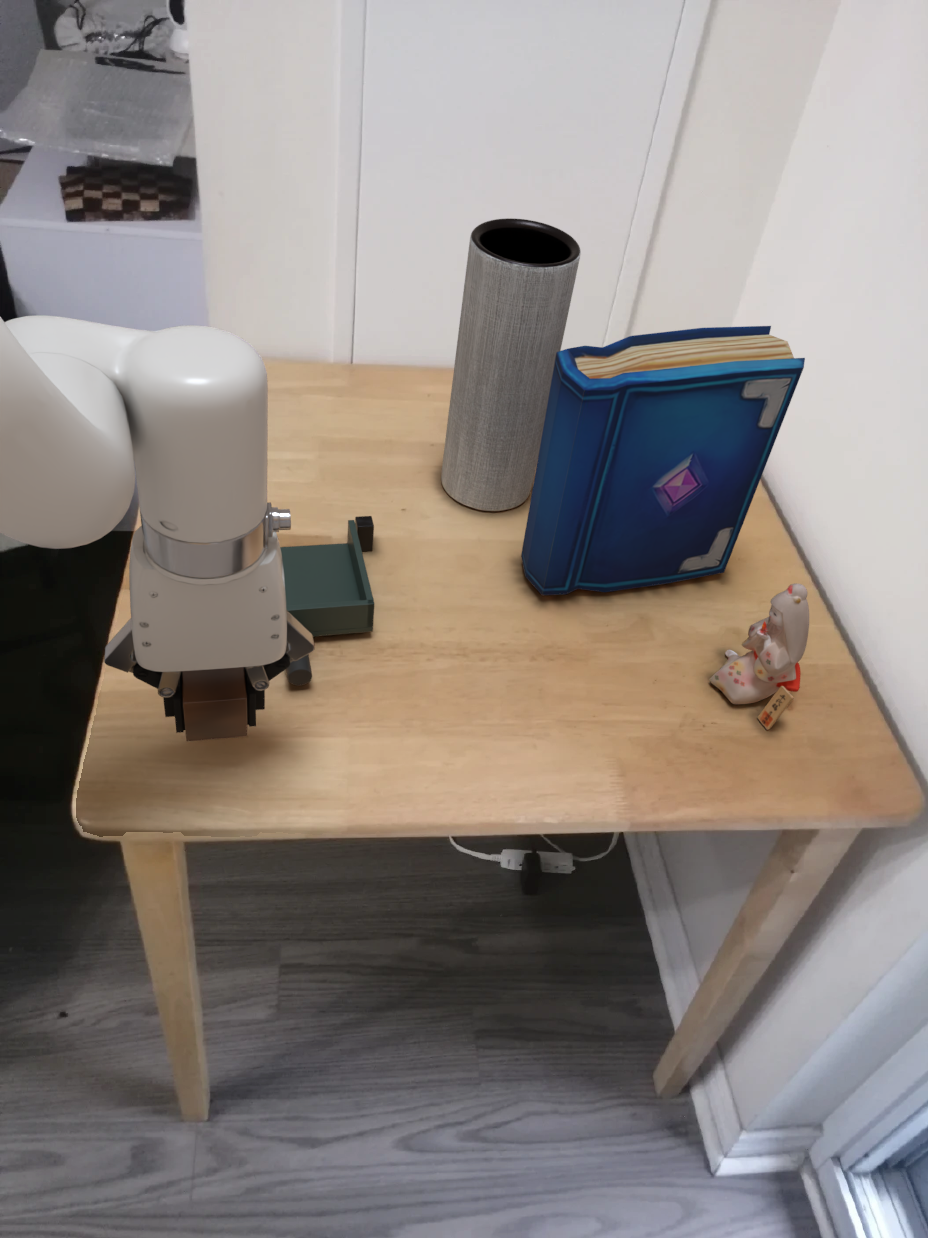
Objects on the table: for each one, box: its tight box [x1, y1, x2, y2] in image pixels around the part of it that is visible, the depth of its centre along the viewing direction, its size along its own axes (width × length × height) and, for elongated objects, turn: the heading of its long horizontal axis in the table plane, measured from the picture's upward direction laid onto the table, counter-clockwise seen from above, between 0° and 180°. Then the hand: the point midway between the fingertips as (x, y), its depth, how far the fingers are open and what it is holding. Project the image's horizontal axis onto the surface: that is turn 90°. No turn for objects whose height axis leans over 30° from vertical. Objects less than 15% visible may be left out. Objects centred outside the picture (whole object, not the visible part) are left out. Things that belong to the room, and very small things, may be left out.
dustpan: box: [280, 519, 375, 686], centre depth 83 cm, size 17×14×4 cm
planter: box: [440, 218, 582, 512], centre depth 93 cm, size 10×10×27 cm
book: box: [520, 325, 806, 596], centre depth 86 cm, size 22×7×25 cm, turn 108°
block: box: [182, 667, 248, 743], centre depth 70 cm, size 4×4×4 cm
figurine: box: [709, 582, 810, 731], centre depth 82 cm, size 9×7×12 cm
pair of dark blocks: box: [354, 515, 375, 552], centre depth 90 cm, size 2×18×3 cm, turn 103°
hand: (215, 713), depth 71 cm, fingers closed on block, 4 cm apart
